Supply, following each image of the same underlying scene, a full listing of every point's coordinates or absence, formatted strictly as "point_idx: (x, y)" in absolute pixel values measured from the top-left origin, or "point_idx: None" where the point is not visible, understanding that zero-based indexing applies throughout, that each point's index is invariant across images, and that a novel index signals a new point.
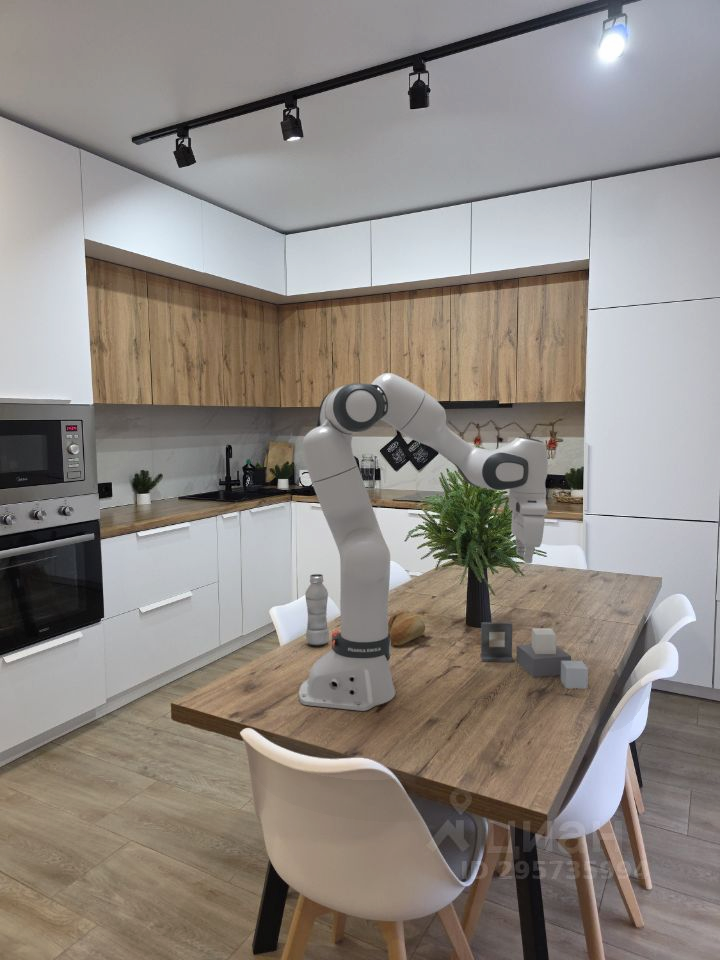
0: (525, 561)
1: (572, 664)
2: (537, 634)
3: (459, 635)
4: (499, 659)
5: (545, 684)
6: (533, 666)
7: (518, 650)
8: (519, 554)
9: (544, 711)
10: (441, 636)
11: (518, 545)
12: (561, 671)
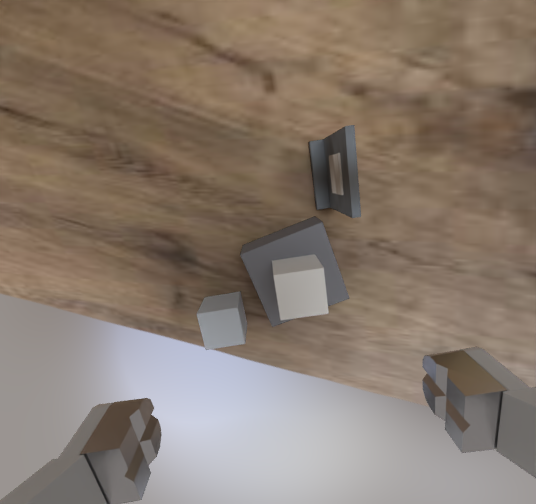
0: (92, 413)
1: (220, 326)
2: (276, 278)
3: (483, 76)
4: (313, 180)
5: (213, 265)
6: (241, 250)
7: (312, 224)
8: (424, 367)
9: (98, 257)
10: (476, 23)
11: (530, 421)
12: (234, 299)
